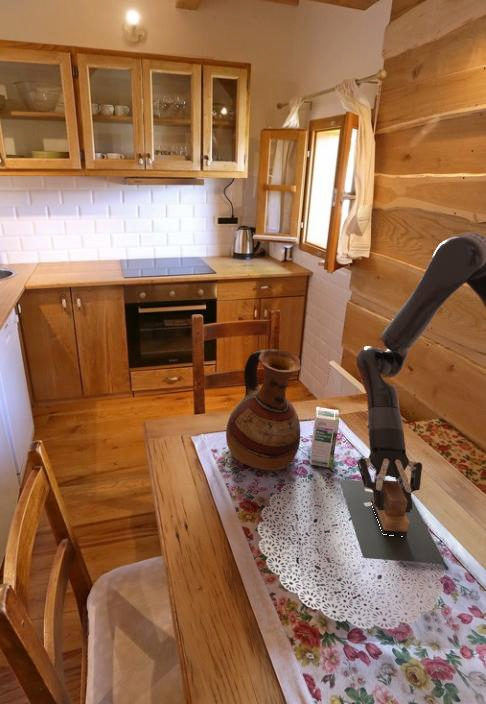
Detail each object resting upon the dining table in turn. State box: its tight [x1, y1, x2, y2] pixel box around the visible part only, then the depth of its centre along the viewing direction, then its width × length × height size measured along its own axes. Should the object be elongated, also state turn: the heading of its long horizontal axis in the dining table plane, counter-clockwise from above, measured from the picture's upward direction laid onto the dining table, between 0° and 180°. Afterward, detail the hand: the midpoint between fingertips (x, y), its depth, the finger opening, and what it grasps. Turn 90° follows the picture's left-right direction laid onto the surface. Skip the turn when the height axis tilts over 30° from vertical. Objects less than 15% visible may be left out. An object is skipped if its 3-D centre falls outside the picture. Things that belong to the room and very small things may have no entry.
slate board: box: [338, 478, 446, 565], centre depth 90 cm, size 16×22×1 cm
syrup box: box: [309, 406, 340, 469], centre depth 106 cm, size 6×6×14 cm
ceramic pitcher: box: [225, 348, 302, 471], centre depth 105 cm, size 20×20×30 cm
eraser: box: [371, 479, 410, 537], centre depth 88 cm, size 5×9×8 cm, turn 176°
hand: (393, 510), depth 86 cm, fingers closed on eraser, 4 cm apart
